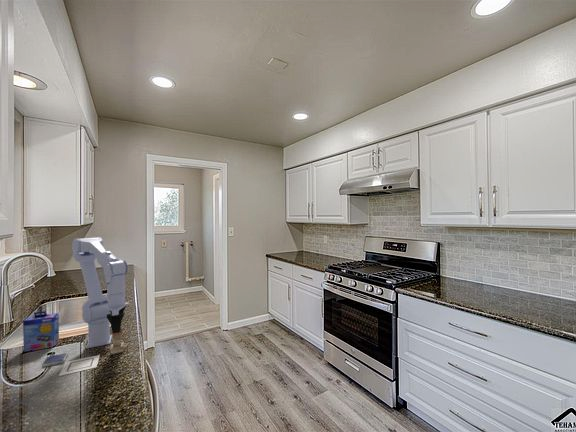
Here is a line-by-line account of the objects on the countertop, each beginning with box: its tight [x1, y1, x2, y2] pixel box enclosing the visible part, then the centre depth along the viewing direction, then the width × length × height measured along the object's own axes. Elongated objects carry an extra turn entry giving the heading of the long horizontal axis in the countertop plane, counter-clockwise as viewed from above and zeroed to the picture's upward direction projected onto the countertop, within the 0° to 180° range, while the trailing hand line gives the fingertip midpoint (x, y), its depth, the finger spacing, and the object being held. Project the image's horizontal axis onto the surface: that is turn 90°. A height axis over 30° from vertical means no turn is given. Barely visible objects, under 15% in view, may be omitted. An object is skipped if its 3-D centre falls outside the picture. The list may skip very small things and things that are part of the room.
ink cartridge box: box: [22, 310, 60, 353], centre depth 111 cm, size 10×6×14 cm, turn 113°
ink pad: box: [41, 352, 69, 368], centre depth 99 cm, size 6×6×1 cm
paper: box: [58, 354, 101, 377], centre depth 96 cm, size 10×10×1 cm
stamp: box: [110, 327, 125, 356], centre depth 105 cm, size 4×4×9 cm
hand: (117, 329), depth 105 cm, fingers open, 7 cm apart
